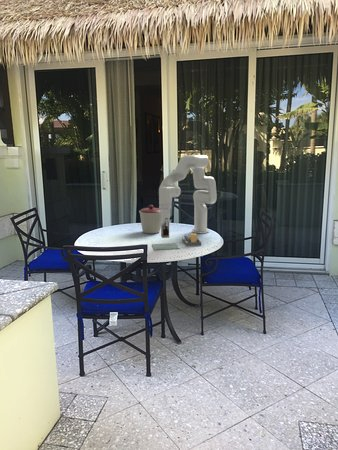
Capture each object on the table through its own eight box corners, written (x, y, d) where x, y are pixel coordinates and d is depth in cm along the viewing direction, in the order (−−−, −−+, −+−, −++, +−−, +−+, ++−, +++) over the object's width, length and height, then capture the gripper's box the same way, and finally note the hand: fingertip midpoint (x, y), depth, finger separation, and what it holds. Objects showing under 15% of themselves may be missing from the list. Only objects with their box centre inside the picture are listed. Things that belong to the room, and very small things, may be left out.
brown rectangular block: (161, 236, 234) (161, 222, 232) (168, 235, 234) (168, 222, 232) (162, 237, 229) (162, 224, 227) (169, 237, 230) (169, 223, 228)
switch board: (182, 240, 249) (182, 235, 248) (196, 239, 251) (196, 234, 250) (186, 245, 236) (186, 240, 235) (201, 245, 237) (201, 240, 237)
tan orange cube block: (189, 240, 240) (189, 233, 239) (195, 240, 241) (195, 233, 240) (190, 242, 236) (190, 235, 235) (196, 242, 237) (196, 234, 236)
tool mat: (152, 245, 238) (152, 244, 238) (175, 243, 240) (175, 243, 240) (154, 250, 226) (154, 249, 226) (179, 248, 229) (179, 248, 229)
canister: (164, 229, 281) (164, 203, 277) (161, 235, 264) (161, 207, 259) (141, 229, 283) (141, 202, 278) (137, 234, 265) (136, 206, 261)
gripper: (157, 204, 235) (157, 231, 239) (161, 208, 219) (161, 237, 223) (168, 204, 236) (168, 231, 240) (173, 208, 220) (173, 237, 224)
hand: (165, 234), depth 231 cm, fingers closed on brown rectangular block, 4 cm apart
